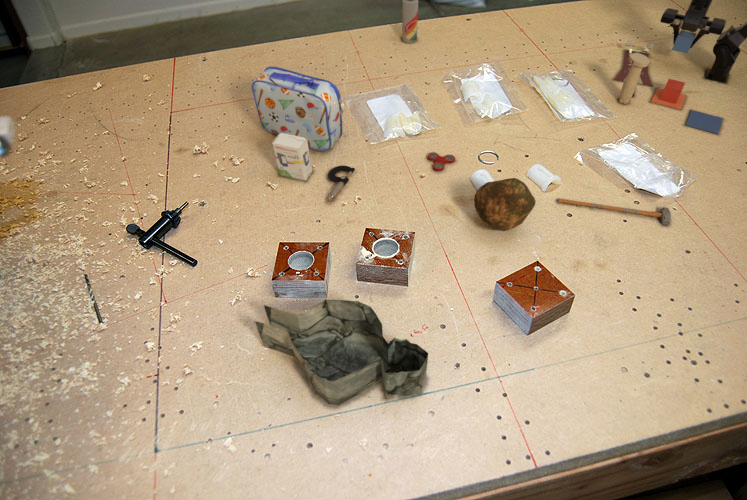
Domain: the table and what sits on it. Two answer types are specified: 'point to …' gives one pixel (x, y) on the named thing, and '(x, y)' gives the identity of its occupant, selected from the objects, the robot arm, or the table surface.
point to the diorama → (626, 66)
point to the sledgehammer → (627, 210)
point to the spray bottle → (409, 20)
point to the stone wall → (345, 350)
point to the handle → (633, 76)
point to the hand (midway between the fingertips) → (682, 45)
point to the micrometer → (338, 180)
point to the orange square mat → (665, 103)
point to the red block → (672, 91)
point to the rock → (504, 203)
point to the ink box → (292, 156)
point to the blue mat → (704, 122)
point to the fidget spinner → (440, 160)
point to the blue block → (684, 41)
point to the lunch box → (299, 106)
